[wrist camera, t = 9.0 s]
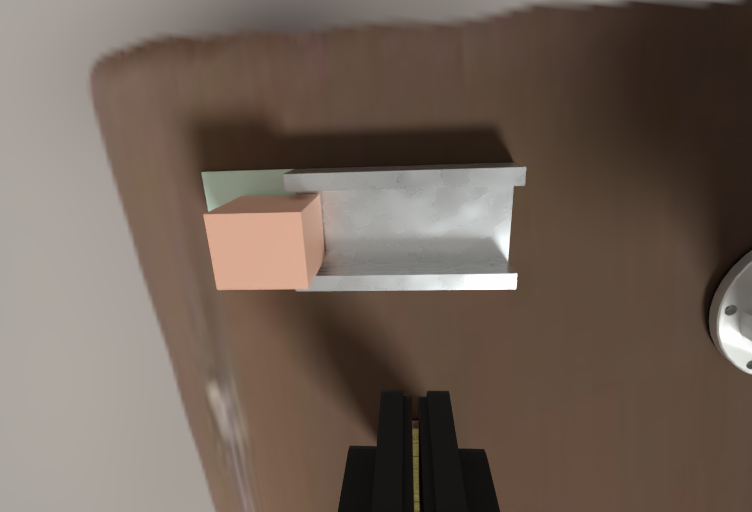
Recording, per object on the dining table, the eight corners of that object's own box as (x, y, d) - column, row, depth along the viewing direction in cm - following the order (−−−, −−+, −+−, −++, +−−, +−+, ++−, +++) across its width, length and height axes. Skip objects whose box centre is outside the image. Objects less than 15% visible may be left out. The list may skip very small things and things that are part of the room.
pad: (294, 168, 30) (293, 169, 29) (305, 276, 32) (304, 277, 32) (203, 171, 30) (201, 172, 30) (221, 277, 33) (220, 278, 33)
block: (320, 194, 29) (300, 212, 24) (325, 257, 31) (308, 289, 25) (240, 196, 30) (203, 214, 24) (250, 258, 31) (217, 289, 26)
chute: (513, 162, 29) (526, 166, 26) (505, 273, 31) (515, 289, 28) (294, 168, 30) (282, 174, 27) (305, 276, 32) (296, 291, 30)
